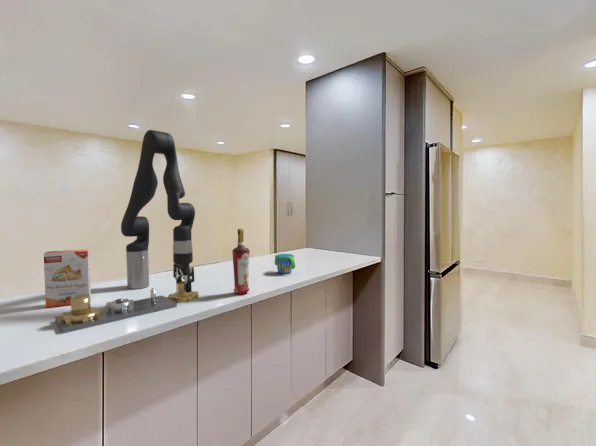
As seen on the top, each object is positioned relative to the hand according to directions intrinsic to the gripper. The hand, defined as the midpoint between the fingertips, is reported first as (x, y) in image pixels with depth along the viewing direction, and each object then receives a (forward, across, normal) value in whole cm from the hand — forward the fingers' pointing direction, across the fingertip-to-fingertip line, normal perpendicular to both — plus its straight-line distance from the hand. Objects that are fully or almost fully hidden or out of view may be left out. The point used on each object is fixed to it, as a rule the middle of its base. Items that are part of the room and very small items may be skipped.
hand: (183, 290), depth 131 cm
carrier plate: (+3, +2, -24) cm, 25 cm away
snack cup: (+4, -6, +62) cm, 62 cm away
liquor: (+4, +11, +21) cm, 24 cm away
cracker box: (+3, -25, -35) cm, 43 cm away
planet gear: (+3, 0, 0) cm, 3 cm away
